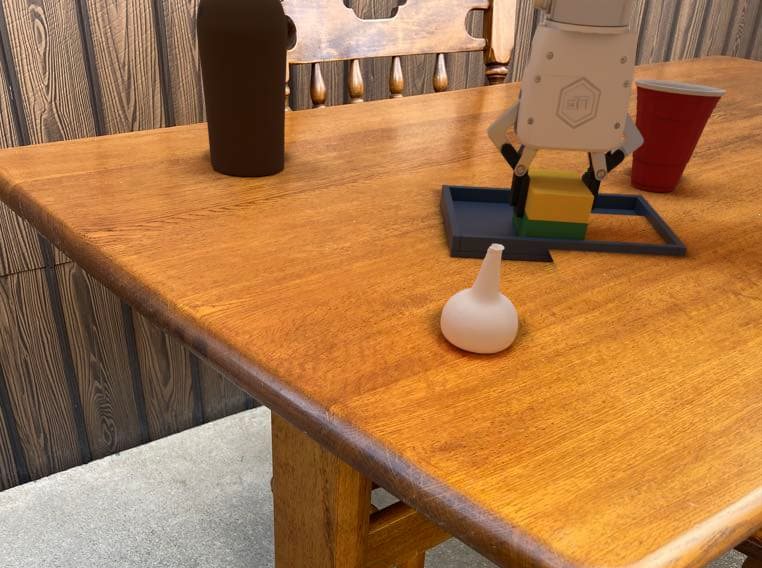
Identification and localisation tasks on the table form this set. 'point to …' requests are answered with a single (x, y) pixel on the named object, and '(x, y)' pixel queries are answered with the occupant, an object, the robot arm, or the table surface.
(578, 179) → the sponge
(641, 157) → the plastic cup
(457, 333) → the garlic bulb
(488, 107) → the table surface
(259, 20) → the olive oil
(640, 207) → the tray
